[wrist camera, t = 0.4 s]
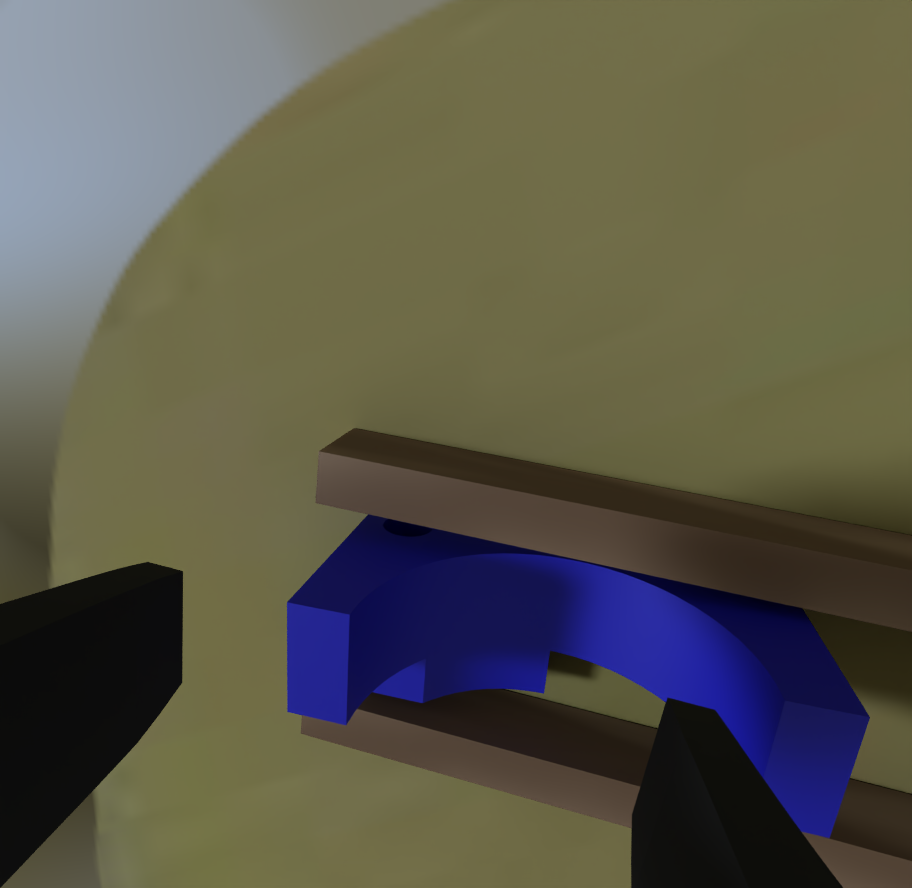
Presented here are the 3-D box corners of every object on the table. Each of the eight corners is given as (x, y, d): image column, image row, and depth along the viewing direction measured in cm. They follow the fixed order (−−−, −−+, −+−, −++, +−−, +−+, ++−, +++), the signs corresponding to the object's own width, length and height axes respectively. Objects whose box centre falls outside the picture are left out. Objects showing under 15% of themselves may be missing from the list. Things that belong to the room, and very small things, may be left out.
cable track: (1117, 892, 17) (1262, 1065, 14) (333, 682, 21) (277, 770, 18) (1297, 609, 14) (1544, 728, 11) (353, 428, 18) (292, 469, 15)
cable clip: (371, 627, 21) (287, 761, 15) (376, 505, 19) (287, 602, 14) (744, 702, 18) (811, 892, 13) (779, 570, 17) (869, 717, 12)
